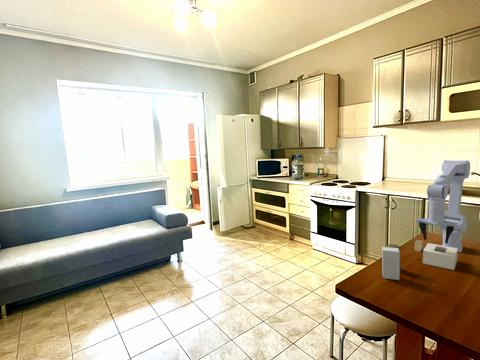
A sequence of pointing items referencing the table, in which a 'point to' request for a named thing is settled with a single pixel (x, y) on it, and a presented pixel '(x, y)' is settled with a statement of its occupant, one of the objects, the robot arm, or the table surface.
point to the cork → (394, 247)
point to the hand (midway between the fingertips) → (435, 241)
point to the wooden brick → (418, 245)
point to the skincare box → (390, 263)
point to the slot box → (440, 256)
